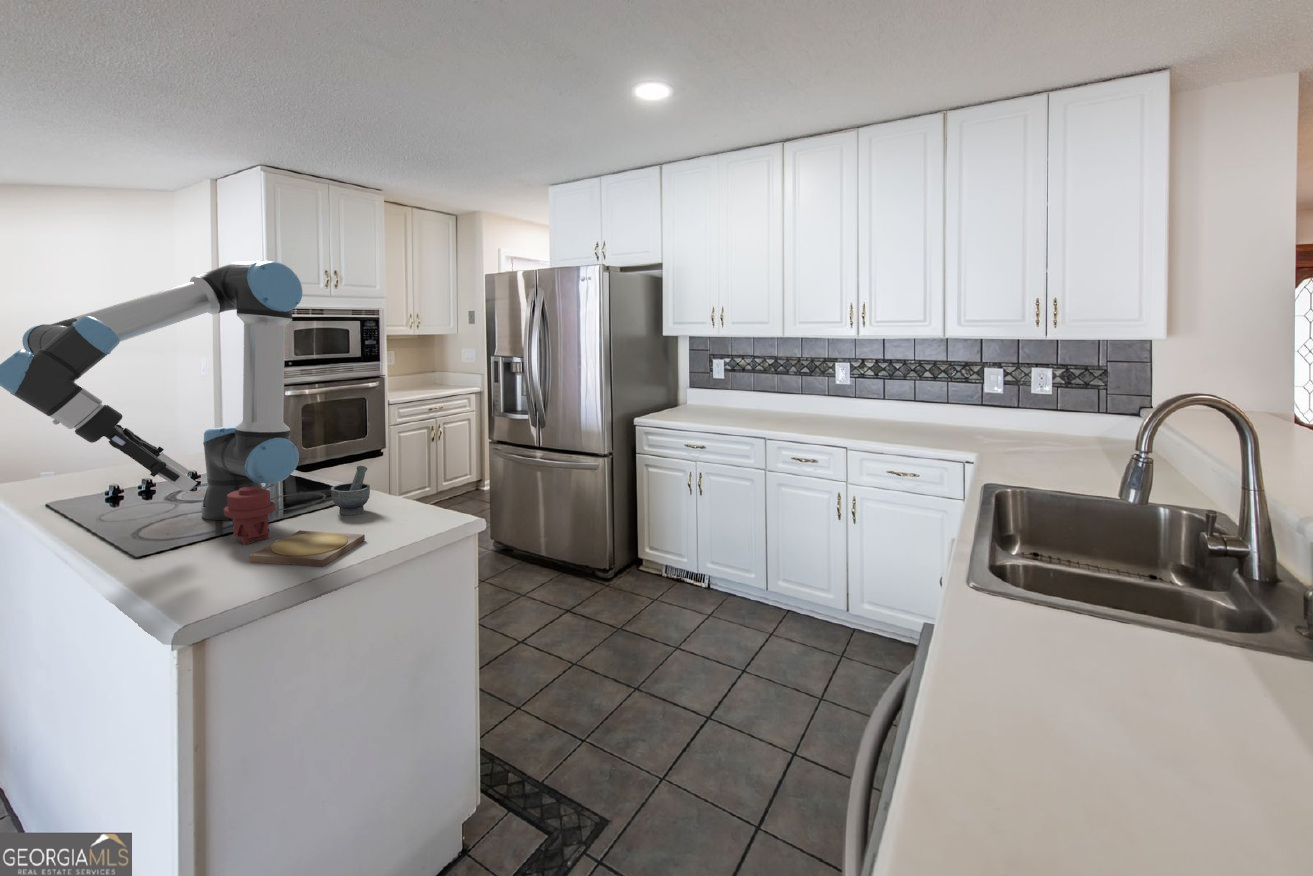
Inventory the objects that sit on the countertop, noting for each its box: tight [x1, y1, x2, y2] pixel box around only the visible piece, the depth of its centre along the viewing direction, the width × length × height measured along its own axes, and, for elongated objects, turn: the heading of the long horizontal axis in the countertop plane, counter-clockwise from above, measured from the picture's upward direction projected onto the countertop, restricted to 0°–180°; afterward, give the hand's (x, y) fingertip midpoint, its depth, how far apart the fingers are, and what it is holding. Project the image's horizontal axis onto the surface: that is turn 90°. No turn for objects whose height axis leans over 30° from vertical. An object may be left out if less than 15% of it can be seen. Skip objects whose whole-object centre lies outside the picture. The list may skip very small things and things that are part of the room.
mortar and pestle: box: [330, 465, 371, 516], centre depth 172 cm, size 11×9×12 cm
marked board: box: [249, 530, 366, 567], centre depth 142 cm, size 17×16×2 cm
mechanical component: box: [224, 487, 276, 545], centre depth 147 cm, size 12×10×10 cm
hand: (188, 481), depth 138 cm, fingers open, 13 cm apart
